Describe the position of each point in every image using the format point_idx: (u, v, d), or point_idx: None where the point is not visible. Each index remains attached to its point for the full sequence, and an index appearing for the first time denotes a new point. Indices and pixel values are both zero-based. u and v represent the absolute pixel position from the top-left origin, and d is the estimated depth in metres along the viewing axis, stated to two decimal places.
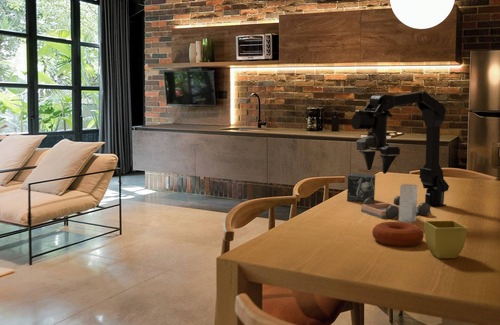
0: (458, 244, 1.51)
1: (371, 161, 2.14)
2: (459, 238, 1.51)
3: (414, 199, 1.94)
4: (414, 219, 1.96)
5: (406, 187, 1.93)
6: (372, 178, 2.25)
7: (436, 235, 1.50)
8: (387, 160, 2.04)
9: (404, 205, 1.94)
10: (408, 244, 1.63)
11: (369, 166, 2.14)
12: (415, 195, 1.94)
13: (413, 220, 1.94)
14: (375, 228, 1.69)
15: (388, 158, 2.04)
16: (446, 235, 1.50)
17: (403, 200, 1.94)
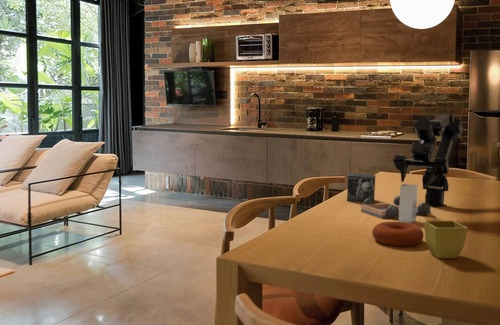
0: (458, 244, 1.51)
1: (404, 175, 2.06)
2: (459, 238, 1.51)
3: (414, 199, 1.94)
4: (414, 219, 1.96)
5: (406, 187, 1.93)
6: (372, 178, 2.25)
7: (436, 235, 1.50)
8: (434, 173, 2.00)
9: (404, 205, 1.94)
10: (408, 244, 1.63)
11: (403, 178, 2.04)
12: (415, 195, 1.94)
13: (413, 220, 1.94)
14: (375, 228, 1.69)
15: (435, 172, 2.01)
16: (446, 235, 1.50)
17: (403, 200, 1.94)
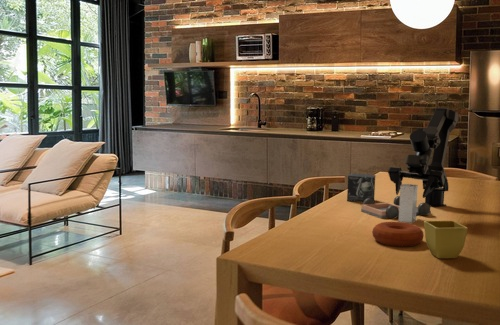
0: (458, 244, 1.51)
1: (399, 188, 2.01)
2: (459, 238, 1.51)
3: (414, 199, 1.94)
4: (414, 219, 1.96)
5: (406, 187, 1.93)
6: (372, 178, 2.26)
7: (436, 235, 1.50)
8: (430, 186, 1.95)
9: (404, 205, 1.94)
10: (408, 244, 1.63)
11: (398, 190, 1.99)
12: (415, 195, 1.94)
13: (413, 220, 1.94)
14: (375, 228, 1.69)
15: (430, 185, 1.96)
16: (446, 235, 1.50)
17: (403, 200, 1.94)
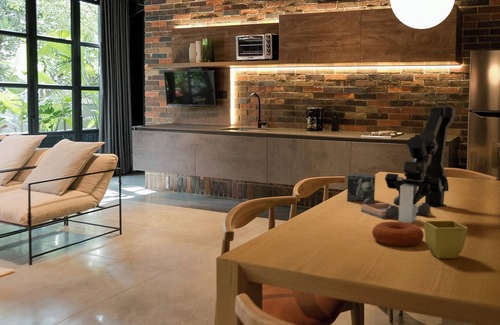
0: (458, 244, 1.51)
1: None
2: (459, 238, 1.51)
3: None
4: (414, 219, 1.96)
5: (406, 187, 1.93)
6: (372, 178, 2.26)
7: (436, 235, 1.50)
8: (421, 192, 1.95)
9: (404, 205, 1.94)
10: (408, 244, 1.63)
11: None
12: None
13: (413, 220, 1.94)
14: (375, 228, 1.69)
15: (421, 191, 1.95)
16: (446, 235, 1.50)
17: (403, 200, 1.94)
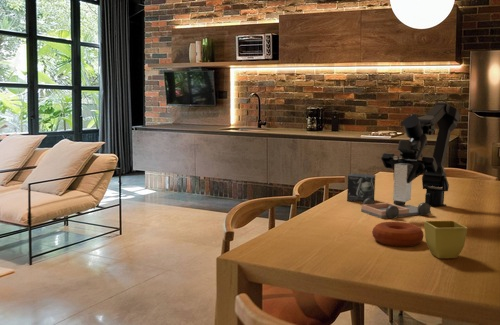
0: (458, 244, 1.51)
1: None
2: (459, 238, 1.51)
3: None
4: (409, 198, 1.97)
5: (400, 166, 1.94)
6: (372, 178, 2.26)
7: (436, 235, 1.50)
8: (415, 171, 1.96)
9: (398, 184, 1.95)
10: (408, 244, 1.63)
11: None
12: (409, 174, 1.95)
13: (407, 199, 1.96)
14: (375, 228, 1.69)
15: (416, 170, 1.96)
16: (446, 235, 1.50)
17: (398, 179, 1.95)
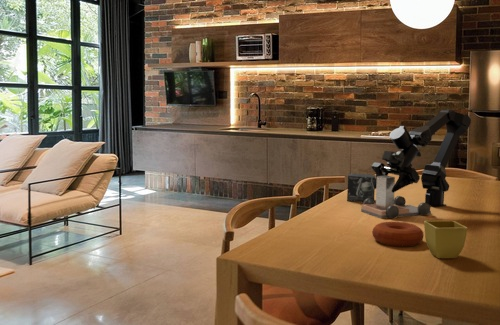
0: (458, 244, 1.51)
1: None
2: (459, 238, 1.51)
3: (389, 190, 2.04)
4: None
5: (381, 178, 2.04)
6: (372, 178, 2.26)
7: (436, 235, 1.50)
8: (401, 181, 2.03)
9: (379, 196, 2.05)
10: (408, 244, 1.63)
11: None
12: (391, 186, 2.04)
13: None
14: (375, 228, 1.69)
15: (403, 181, 2.03)
16: (446, 235, 1.50)
17: (379, 190, 2.05)
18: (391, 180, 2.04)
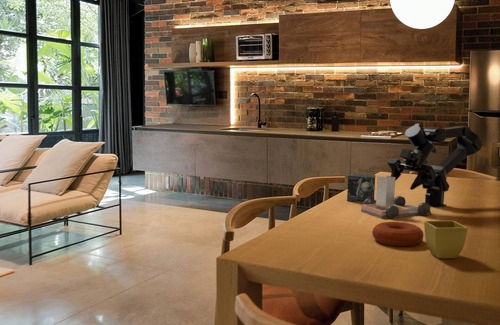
0: (458, 244, 1.51)
1: (395, 179, 2.16)
2: (459, 238, 1.51)
3: (390, 190, 2.04)
4: None
5: (381, 178, 2.04)
6: (372, 178, 2.26)
7: (436, 235, 1.50)
8: (420, 179, 2.08)
9: (380, 196, 2.06)
10: (408, 244, 1.63)
11: None
12: (391, 186, 2.04)
13: None
14: (375, 228, 1.69)
15: (421, 178, 2.08)
16: (446, 235, 1.50)
17: (379, 190, 2.05)
18: (391, 180, 2.04)
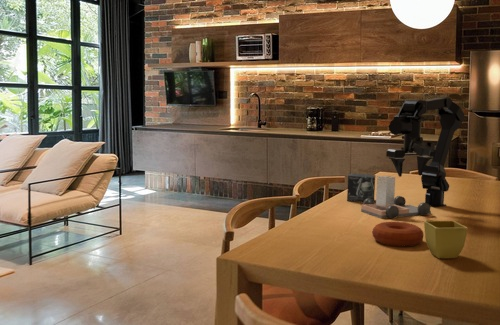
0: (458, 244, 1.51)
1: None
2: (459, 238, 1.51)
3: (390, 190, 2.04)
4: None
5: (381, 178, 2.04)
6: (372, 178, 2.26)
7: (436, 235, 1.50)
8: None
9: (380, 196, 2.06)
10: (408, 244, 1.63)
11: None
12: (391, 186, 2.04)
13: None
14: (375, 228, 1.69)
15: None
16: (446, 235, 1.50)
17: (379, 190, 2.05)
18: (391, 180, 2.04)
